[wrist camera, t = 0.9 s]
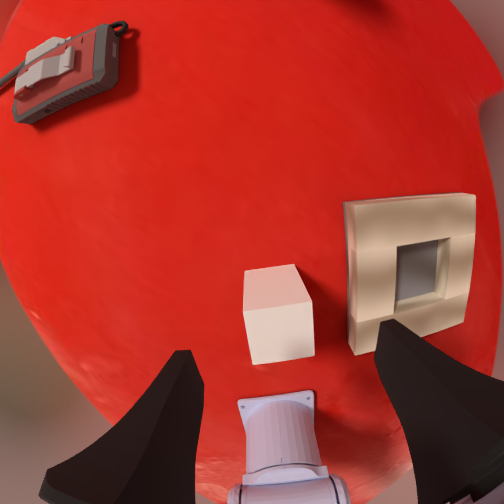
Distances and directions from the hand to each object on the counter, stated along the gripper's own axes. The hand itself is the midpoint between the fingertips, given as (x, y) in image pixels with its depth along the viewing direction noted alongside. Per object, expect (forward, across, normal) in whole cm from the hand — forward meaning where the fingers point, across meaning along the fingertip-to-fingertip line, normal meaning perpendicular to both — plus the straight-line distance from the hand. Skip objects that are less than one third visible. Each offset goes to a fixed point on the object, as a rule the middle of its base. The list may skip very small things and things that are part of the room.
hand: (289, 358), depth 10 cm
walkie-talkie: (+16, +19, -19) cm, 31 cm away
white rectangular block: (+12, 0, +4) cm, 13 cm away
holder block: (+12, -13, +4) cm, 18 cm away
